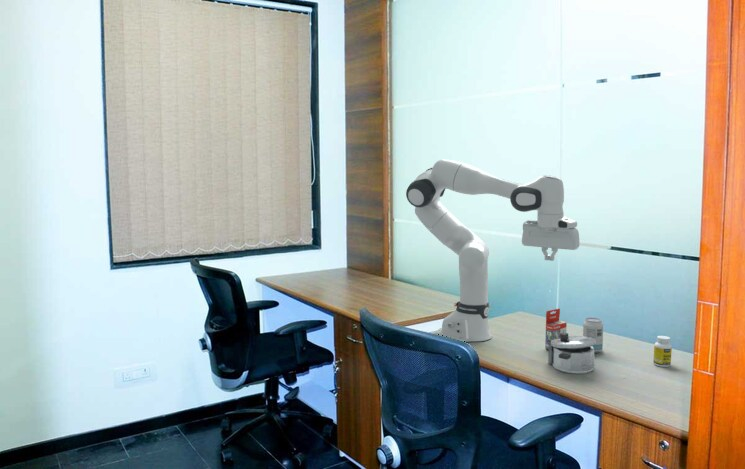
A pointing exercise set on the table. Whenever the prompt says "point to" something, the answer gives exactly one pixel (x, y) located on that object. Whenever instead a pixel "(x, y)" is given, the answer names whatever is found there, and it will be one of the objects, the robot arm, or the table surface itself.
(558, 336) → the ink box
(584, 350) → the pot
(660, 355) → the supplement bottle
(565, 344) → the lid
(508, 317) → the table surface
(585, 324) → the beverage can
